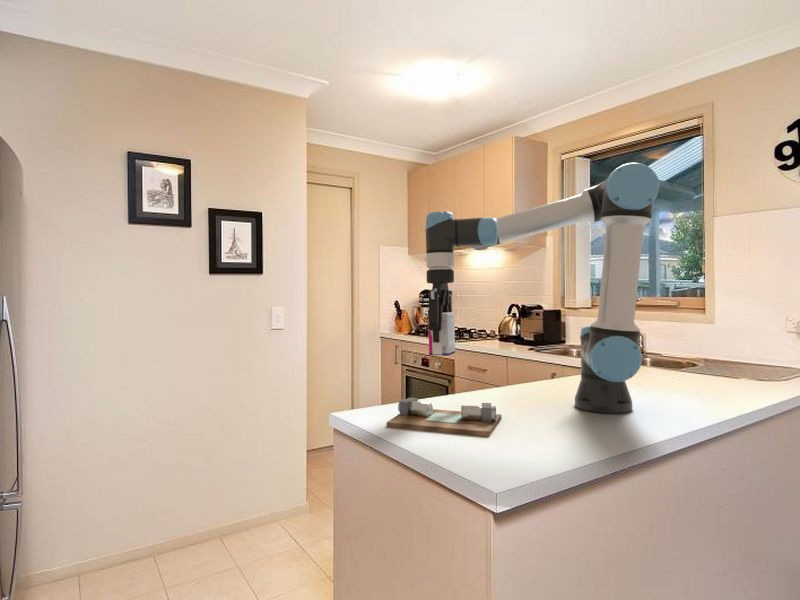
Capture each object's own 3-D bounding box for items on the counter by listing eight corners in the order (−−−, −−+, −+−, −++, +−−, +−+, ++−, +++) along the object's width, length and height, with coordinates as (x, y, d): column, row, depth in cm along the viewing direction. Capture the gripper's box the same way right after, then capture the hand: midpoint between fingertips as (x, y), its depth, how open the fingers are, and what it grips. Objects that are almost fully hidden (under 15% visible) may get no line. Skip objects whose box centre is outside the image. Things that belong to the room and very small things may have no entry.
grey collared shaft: (495, 417, 127) (495, 403, 127) (496, 423, 122) (496, 408, 122) (462, 416, 129) (461, 402, 128) (461, 422, 123) (460, 407, 123)
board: (501, 419, 130) (501, 413, 130) (489, 436, 115) (489, 430, 115) (408, 411, 140) (408, 406, 140) (386, 427, 125) (386, 421, 125)
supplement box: (455, 352, 138) (454, 311, 138) (448, 356, 133) (447, 313, 133) (436, 351, 141) (435, 311, 140) (428, 355, 136) (427, 313, 135)
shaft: (434, 414, 131) (434, 400, 131) (424, 419, 127) (424, 404, 127) (407, 410, 136) (406, 396, 136) (396, 415, 132) (396, 400, 132)
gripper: (438, 270, 146) (439, 348, 147) (414, 268, 129) (416, 357, 130) (463, 269, 143) (464, 349, 144) (441, 267, 126) (443, 358, 127)
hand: (441, 352), depth 137 cm, fingers closed on supplement box, 6 cm apart
